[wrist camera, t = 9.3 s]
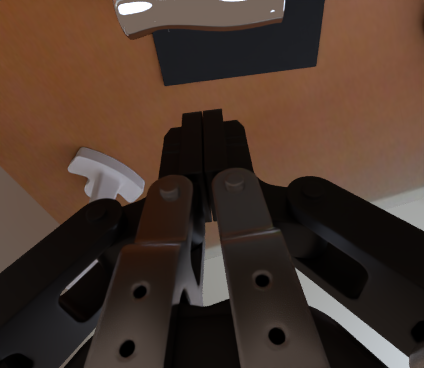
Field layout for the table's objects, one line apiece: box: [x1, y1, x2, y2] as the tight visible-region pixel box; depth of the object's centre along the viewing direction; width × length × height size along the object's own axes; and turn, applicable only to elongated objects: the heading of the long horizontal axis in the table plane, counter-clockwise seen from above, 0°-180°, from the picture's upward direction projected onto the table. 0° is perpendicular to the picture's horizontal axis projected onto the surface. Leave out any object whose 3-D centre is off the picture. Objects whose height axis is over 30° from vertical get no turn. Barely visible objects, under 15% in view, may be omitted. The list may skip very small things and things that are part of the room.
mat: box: [153, 0, 325, 86], centre depth 32 cm, size 15×19×1 cm
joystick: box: [66, 147, 145, 290], centre depth 40 cm, size 11×8×20 cm
